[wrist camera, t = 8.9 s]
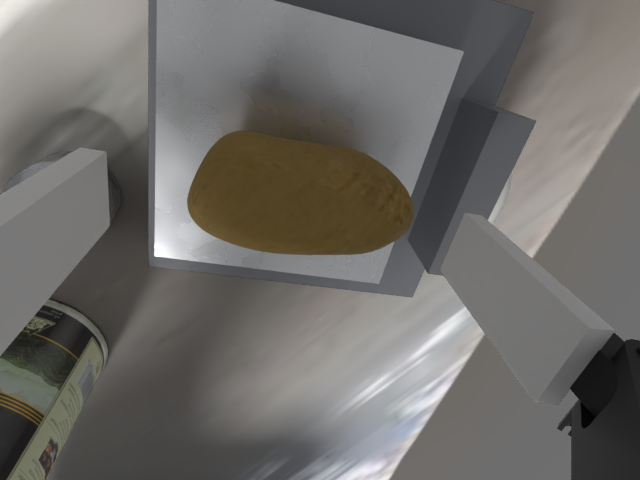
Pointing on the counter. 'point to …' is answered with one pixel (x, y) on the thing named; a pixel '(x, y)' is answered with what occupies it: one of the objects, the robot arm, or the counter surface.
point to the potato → (297, 197)
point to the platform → (286, 108)
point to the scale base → (447, 143)
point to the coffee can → (45, 388)
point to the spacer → (40, 165)
